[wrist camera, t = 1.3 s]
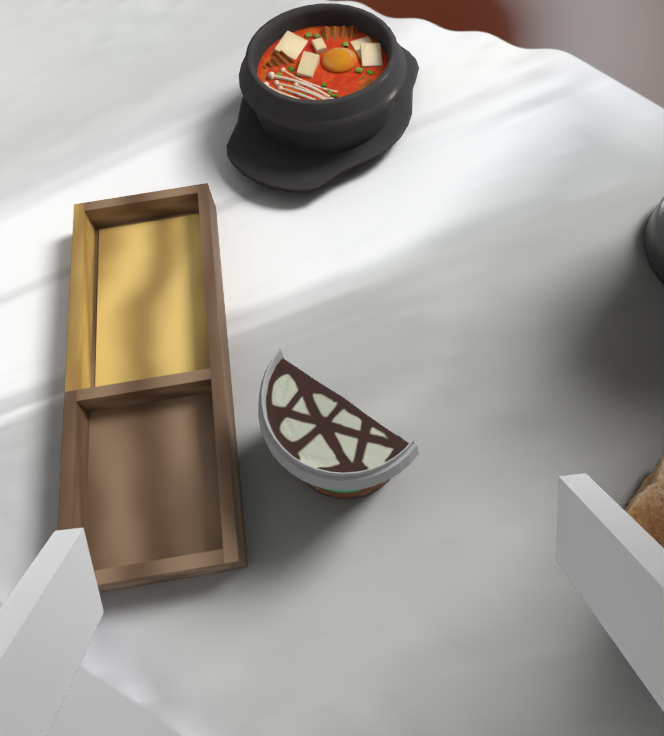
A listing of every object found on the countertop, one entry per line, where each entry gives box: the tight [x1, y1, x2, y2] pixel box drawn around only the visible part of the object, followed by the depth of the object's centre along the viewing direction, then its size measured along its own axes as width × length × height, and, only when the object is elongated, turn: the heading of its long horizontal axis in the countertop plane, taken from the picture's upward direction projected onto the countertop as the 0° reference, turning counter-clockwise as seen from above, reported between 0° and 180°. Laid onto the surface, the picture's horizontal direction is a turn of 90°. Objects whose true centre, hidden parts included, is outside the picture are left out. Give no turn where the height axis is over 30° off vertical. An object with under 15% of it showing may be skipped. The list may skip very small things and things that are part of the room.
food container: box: [259, 349, 419, 499], centre depth 43 cm, size 12×6×10 cm, turn 53°
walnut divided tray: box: [58, 183, 247, 592], centre depth 50 cm, size 13×36×4 cm, turn 9°
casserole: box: [227, 4, 419, 192], centre depth 60 cm, size 25×19×8 cm
